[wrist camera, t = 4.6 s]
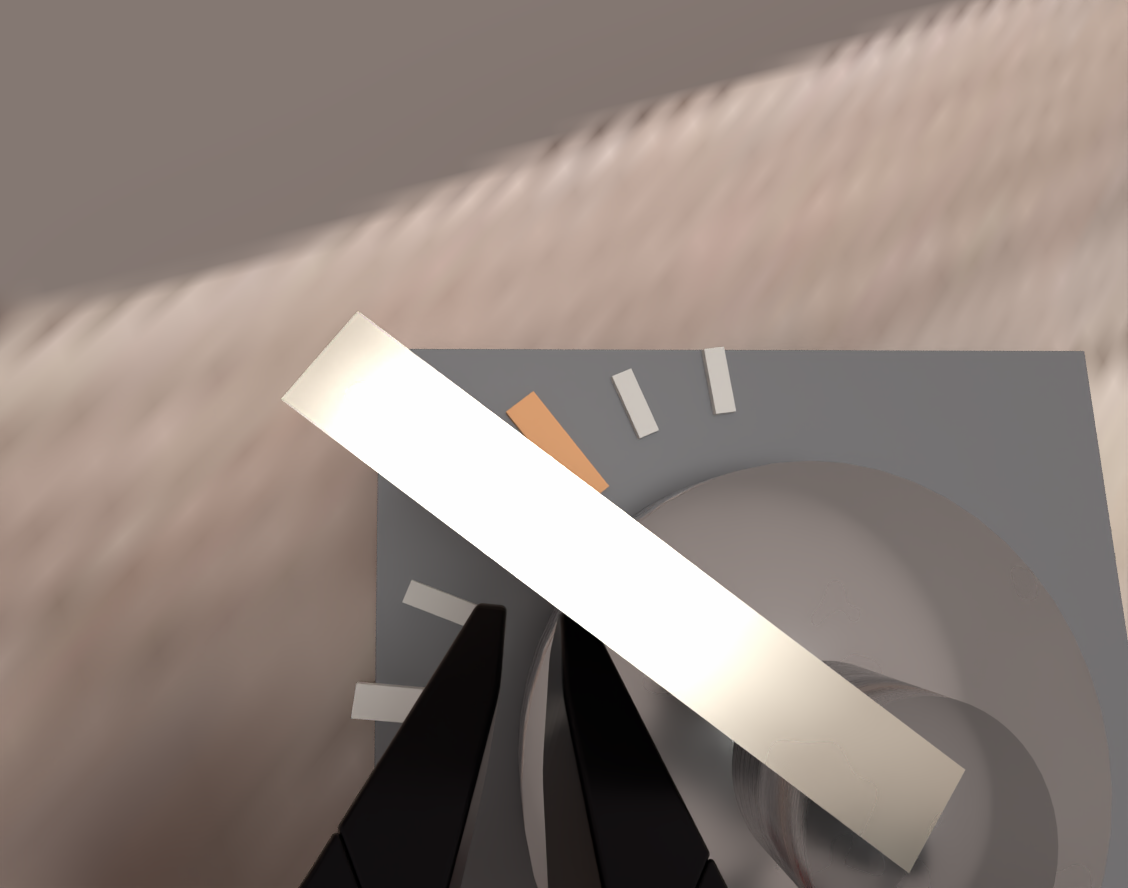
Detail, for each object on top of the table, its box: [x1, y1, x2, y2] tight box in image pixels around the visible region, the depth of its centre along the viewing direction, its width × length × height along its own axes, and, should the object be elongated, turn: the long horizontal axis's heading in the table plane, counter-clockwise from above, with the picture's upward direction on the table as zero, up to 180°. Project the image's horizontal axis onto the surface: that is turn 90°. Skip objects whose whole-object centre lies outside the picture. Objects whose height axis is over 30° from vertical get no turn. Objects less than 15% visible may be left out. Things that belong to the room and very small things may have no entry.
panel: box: [351, 347, 1128, 888], centre depth 15 cm, size 18×18×1 cm
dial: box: [281, 311, 1112, 888], centre depth 11 cm, size 16×12×8 cm
